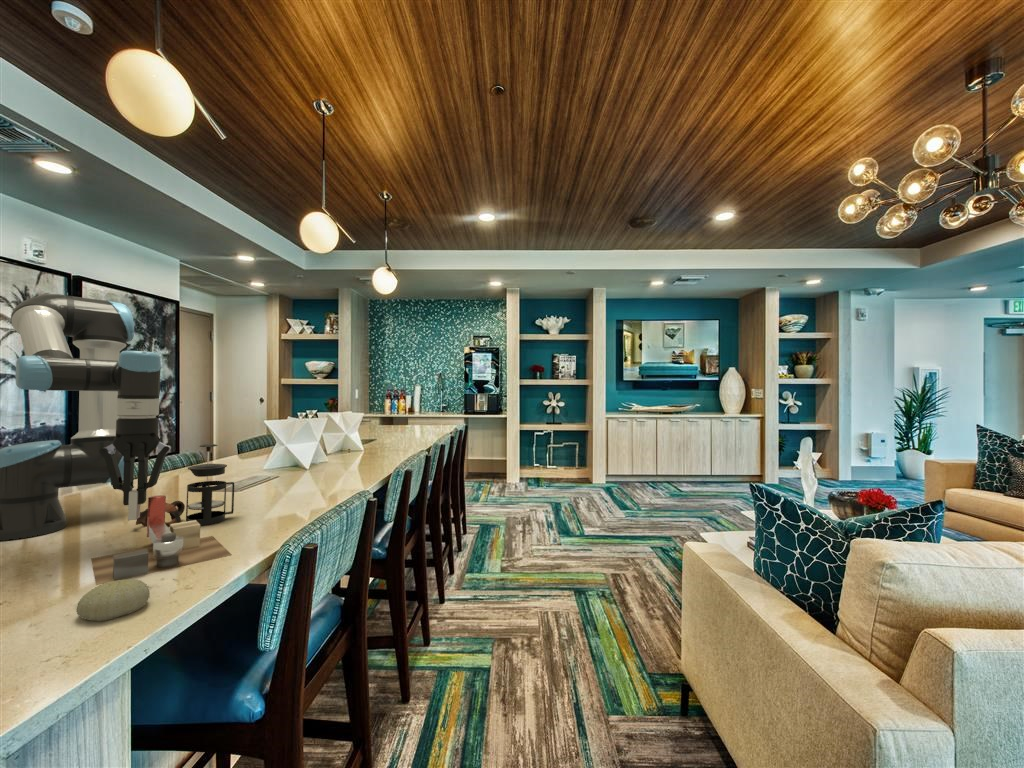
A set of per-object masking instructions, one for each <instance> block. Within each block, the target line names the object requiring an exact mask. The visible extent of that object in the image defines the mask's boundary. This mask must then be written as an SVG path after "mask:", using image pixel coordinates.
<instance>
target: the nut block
mask: <svg viewBox="0 0 1024 768" xmlns="http://www.w3.org/2000/svg"><path fill="white" fill-rule="evenodd" d="M169 530H170V531H171V532H172V533H176V537H183V549H187V548H192V547H197V546H200V538H201V526H200V524H199V523H198V522H197V521H196V520H193V521H187V522H186V521H181V523H175V524H170V525H169Z"/></svg>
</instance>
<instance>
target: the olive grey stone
mask: <svg viewBox="0 0 1024 768" xmlns="http://www.w3.org/2000/svg"><path fill="white" fill-rule="evenodd" d="M150 592H151V591H150V588H149V586H148V585H147V583H145V582H144V581H142V580H140V579H136V578H127V579H122V580H117V581H111V582H107V583H104V584H99V585H97V586H96V587H94V588H92V589H91V590H88V591H87V592H86V593H85V594H84V595H83V596H82V597H81V598H80V599H79V601H78V603H77V606H76V609H75V612H76V614H77V616H79V617H80V618H82V619H83V620H89V621H92V622H103V621H108V620H112V619H117V618H119V617H121V616H125V615H129V614H131V613H134V612H136V611H138V610H140V609H141V608H143V607H144V606H145V604H147V601H148V600H149V598H150V594H151V593H150Z"/></svg>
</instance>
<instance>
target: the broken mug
mask: <svg viewBox="0 0 1024 768" xmlns="http://www.w3.org/2000/svg"><path fill="white" fill-rule="evenodd" d="M185 510H186V506H185V503H184V502H183V501H181V500H175V501H173V502H171V503H168V502H166V503H165V513H168V514H169V515H170V518H171V520H170V521H168V525H169V526H170V524H175V523H181V522H182V518H181V517H182V515H183V513H184V511H185ZM147 520H148V507H147V508H146V509H145V510H144V511H140V517H139V518H138V519H136V520H135V525H137V526H138V525H142V526H143V527H145V526H146V527H147Z"/></svg>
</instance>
